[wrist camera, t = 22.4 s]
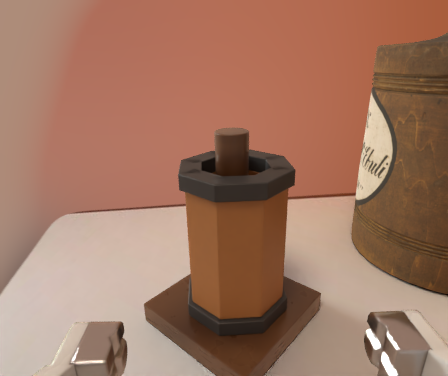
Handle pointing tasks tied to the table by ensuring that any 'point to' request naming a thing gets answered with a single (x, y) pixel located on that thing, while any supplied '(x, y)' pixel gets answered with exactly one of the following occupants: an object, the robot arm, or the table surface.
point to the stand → (232, 344)
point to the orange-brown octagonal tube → (236, 242)
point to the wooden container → (406, 165)
